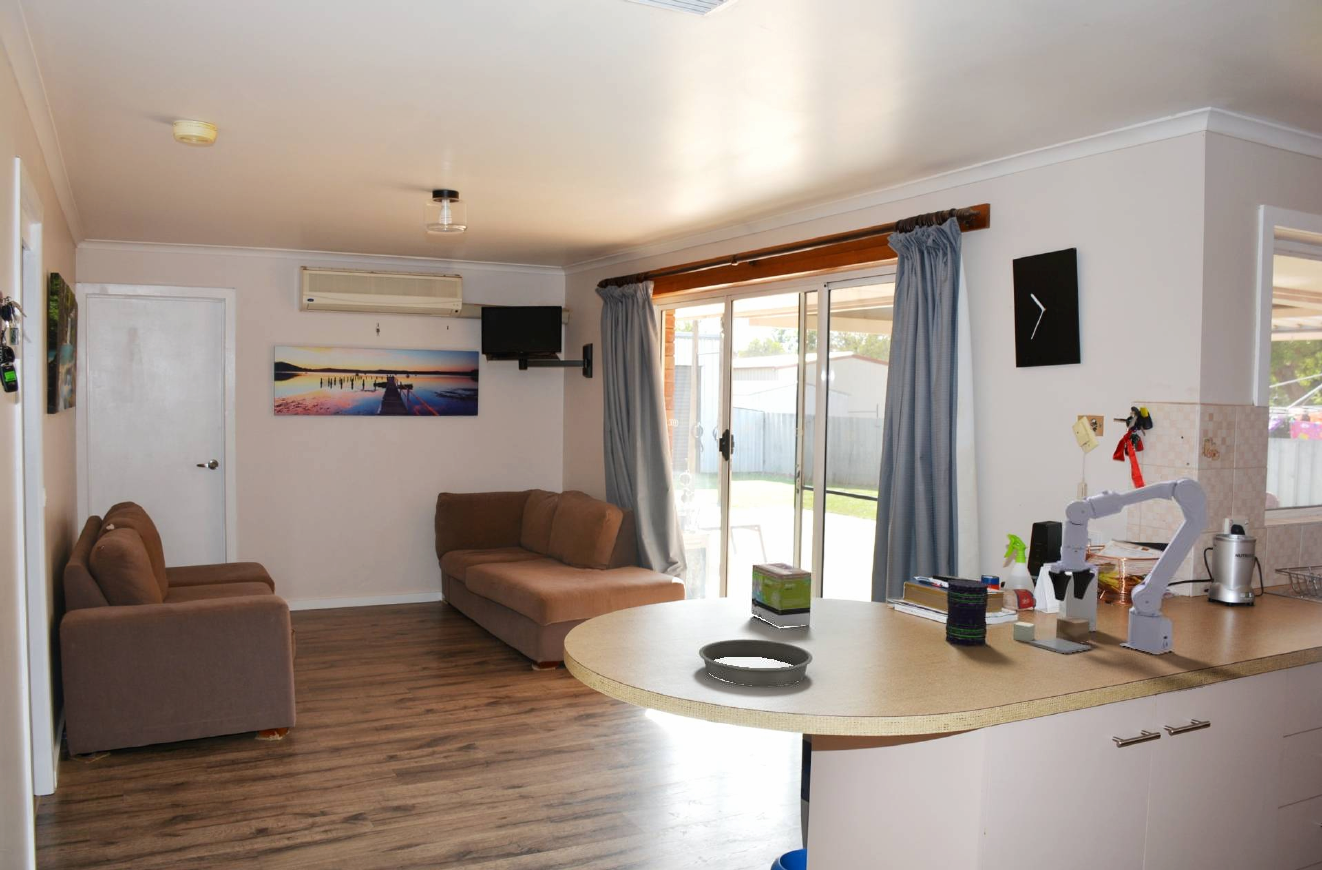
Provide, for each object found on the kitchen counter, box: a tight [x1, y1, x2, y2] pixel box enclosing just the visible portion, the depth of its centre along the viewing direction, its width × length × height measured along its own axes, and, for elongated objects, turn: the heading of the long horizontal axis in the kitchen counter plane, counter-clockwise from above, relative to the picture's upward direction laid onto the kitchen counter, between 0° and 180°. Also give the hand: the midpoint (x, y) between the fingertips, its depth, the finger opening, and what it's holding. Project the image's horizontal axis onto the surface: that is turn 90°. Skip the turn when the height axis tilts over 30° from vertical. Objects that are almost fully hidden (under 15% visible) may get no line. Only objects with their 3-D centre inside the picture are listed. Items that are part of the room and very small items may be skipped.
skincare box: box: [1058, 571, 1099, 632], centre depth 256 cm, size 8×7×16 cm
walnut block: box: [1055, 617, 1090, 644], centre depth 243 cm, size 6×6×6 cm
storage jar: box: [945, 578, 989, 648], centre depth 238 cm, size 10×10×15 cm
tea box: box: [750, 562, 812, 627], centre depth 255 cm, size 15×10×15 cm, turn 25°
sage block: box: [1012, 621, 1036, 643], centre depth 243 cm, size 4×4×4 cm
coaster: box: [1029, 636, 1092, 655], centre depth 236 cm, size 10×10×1 cm
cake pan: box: [698, 638, 813, 687], centre depth 206 cm, size 25×25×4 cm
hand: (1069, 599), depth 244 cm, fingers open, 7 cm apart
